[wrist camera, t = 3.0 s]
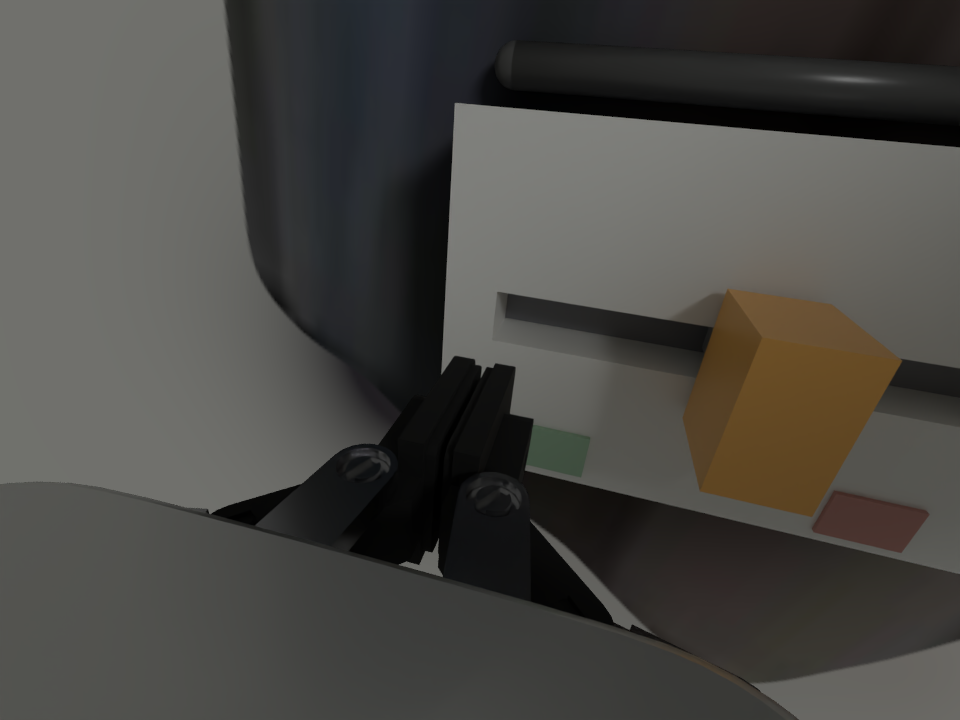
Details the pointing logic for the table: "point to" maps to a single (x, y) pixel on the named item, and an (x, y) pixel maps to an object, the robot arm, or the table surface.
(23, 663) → the robot arm
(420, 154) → the table surface
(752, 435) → the lever
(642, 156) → the switch panel
